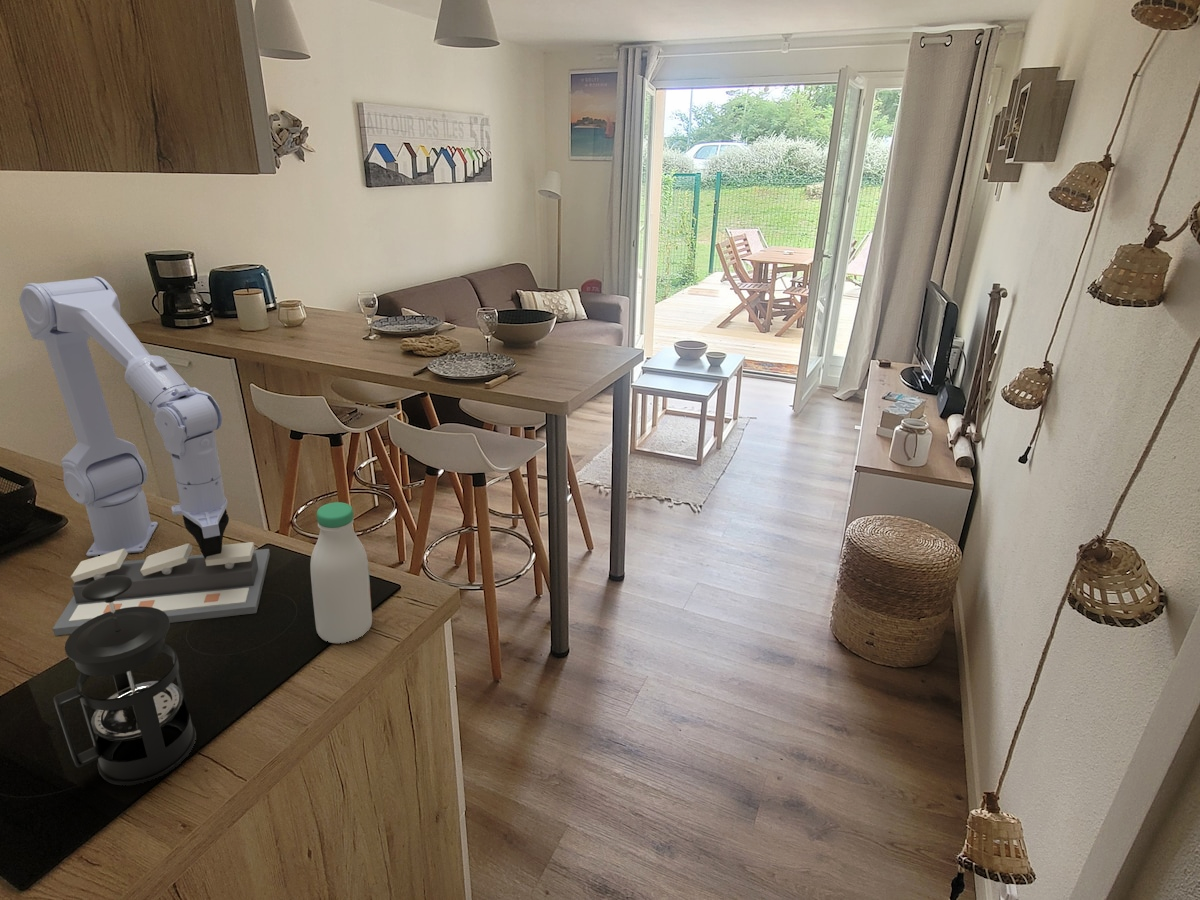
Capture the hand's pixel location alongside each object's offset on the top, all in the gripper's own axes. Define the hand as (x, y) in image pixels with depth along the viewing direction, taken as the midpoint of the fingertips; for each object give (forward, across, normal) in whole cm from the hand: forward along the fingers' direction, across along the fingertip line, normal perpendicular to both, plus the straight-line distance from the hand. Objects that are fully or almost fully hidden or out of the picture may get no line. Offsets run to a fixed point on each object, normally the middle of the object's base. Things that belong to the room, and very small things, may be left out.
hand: (212, 555), depth 101 cm
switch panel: (+6, -2, -6) cm, 8 cm away
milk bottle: (+6, +19, +14) cm, 24 cm away
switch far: (+1, +1, +2) cm, 3 cm away
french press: (+6, +30, -11) cm, 33 cm away
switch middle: (+1, -2, -5) cm, 6 cm away
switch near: (+1, -4, -14) cm, 14 cm away
